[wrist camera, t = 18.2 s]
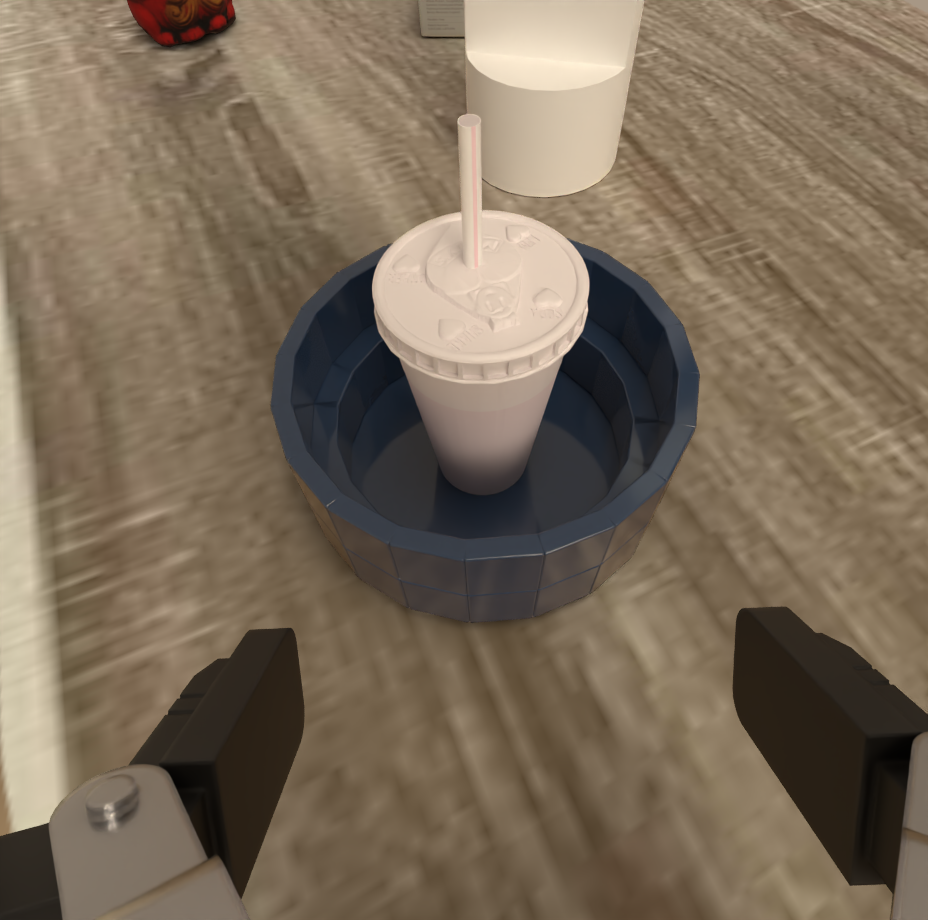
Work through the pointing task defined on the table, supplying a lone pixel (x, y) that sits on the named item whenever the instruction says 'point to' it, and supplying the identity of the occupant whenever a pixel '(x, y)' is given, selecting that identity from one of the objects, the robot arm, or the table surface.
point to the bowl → (510, 511)
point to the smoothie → (480, 326)
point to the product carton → (442, 18)
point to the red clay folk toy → (182, 18)
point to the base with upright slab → (549, 89)
